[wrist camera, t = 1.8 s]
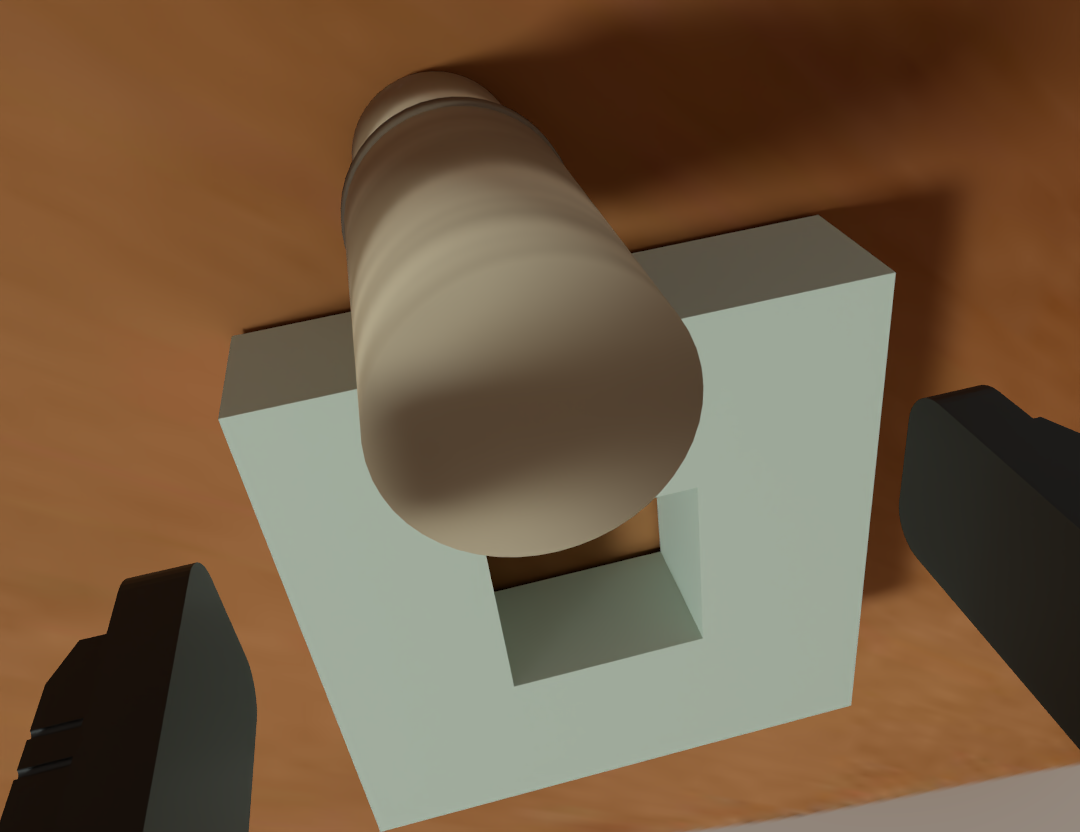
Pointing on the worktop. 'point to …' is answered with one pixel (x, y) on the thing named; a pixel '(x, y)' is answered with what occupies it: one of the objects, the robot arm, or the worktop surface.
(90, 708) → the robot arm
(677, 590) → the board
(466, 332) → the peg
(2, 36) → the worktop surface
